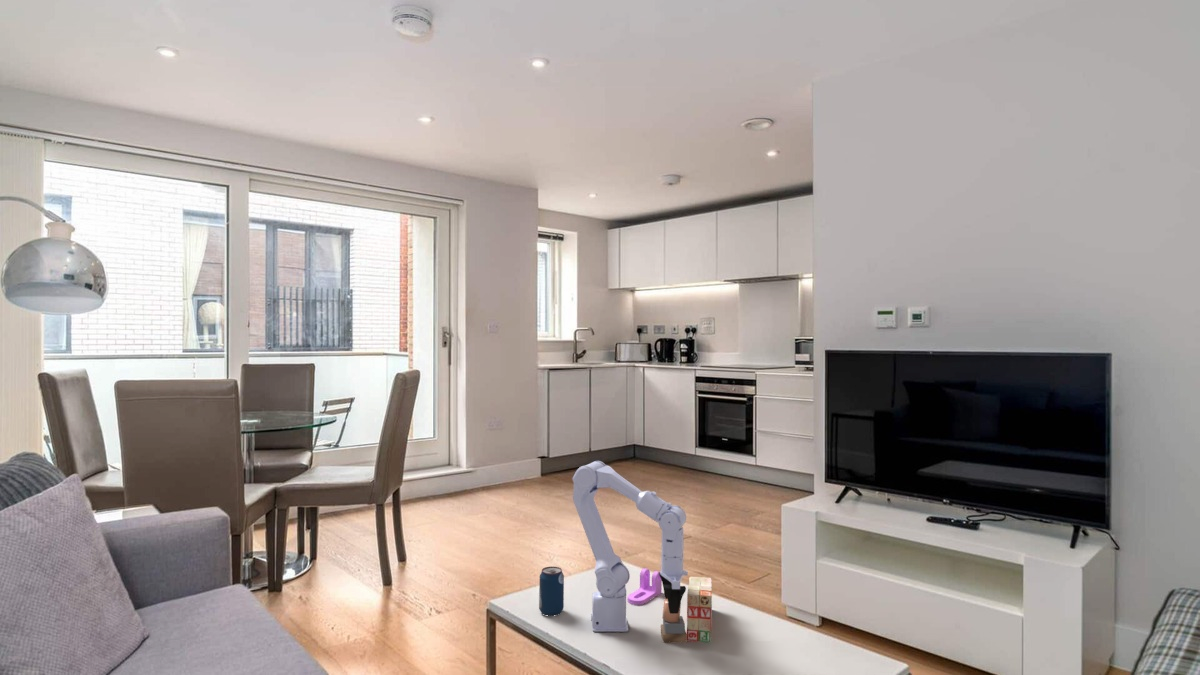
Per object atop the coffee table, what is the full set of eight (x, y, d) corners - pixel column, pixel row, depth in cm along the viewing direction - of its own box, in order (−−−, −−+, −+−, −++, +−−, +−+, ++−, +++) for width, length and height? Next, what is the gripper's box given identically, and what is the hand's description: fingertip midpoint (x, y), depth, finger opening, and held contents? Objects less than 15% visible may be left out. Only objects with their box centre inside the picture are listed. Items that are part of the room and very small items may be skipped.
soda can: (568, 611, 183) (569, 569, 183) (551, 619, 177) (551, 575, 178) (551, 605, 187) (551, 564, 187) (533, 612, 182) (534, 570, 182)
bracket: (645, 589, 201) (645, 566, 201) (661, 593, 198) (661, 570, 198) (623, 602, 190) (624, 579, 190) (640, 607, 187) (640, 583, 187)
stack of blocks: (689, 608, 187) (690, 565, 187) (711, 610, 186) (712, 567, 186) (686, 641, 166) (687, 593, 166) (711, 643, 165) (711, 595, 165)
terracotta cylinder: (664, 621, 165) (665, 604, 165) (661, 615, 170) (662, 597, 170) (680, 622, 166) (682, 605, 166) (677, 616, 170) (679, 598, 170)
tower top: (665, 633, 165) (665, 623, 165) (663, 625, 170) (663, 615, 170) (684, 633, 165) (684, 623, 165) (681, 625, 170) (681, 615, 170)
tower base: (663, 644, 164) (663, 634, 165) (660, 633, 170) (660, 624, 171) (686, 644, 165) (686, 634, 165) (683, 633, 171) (683, 624, 171)
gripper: (692, 563, 161) (691, 618, 160) (683, 545, 175) (682, 596, 175) (664, 563, 160) (663, 618, 160) (657, 545, 175) (656, 596, 175)
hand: (671, 606), depth 167 cm, fingers open, 7 cm apart
